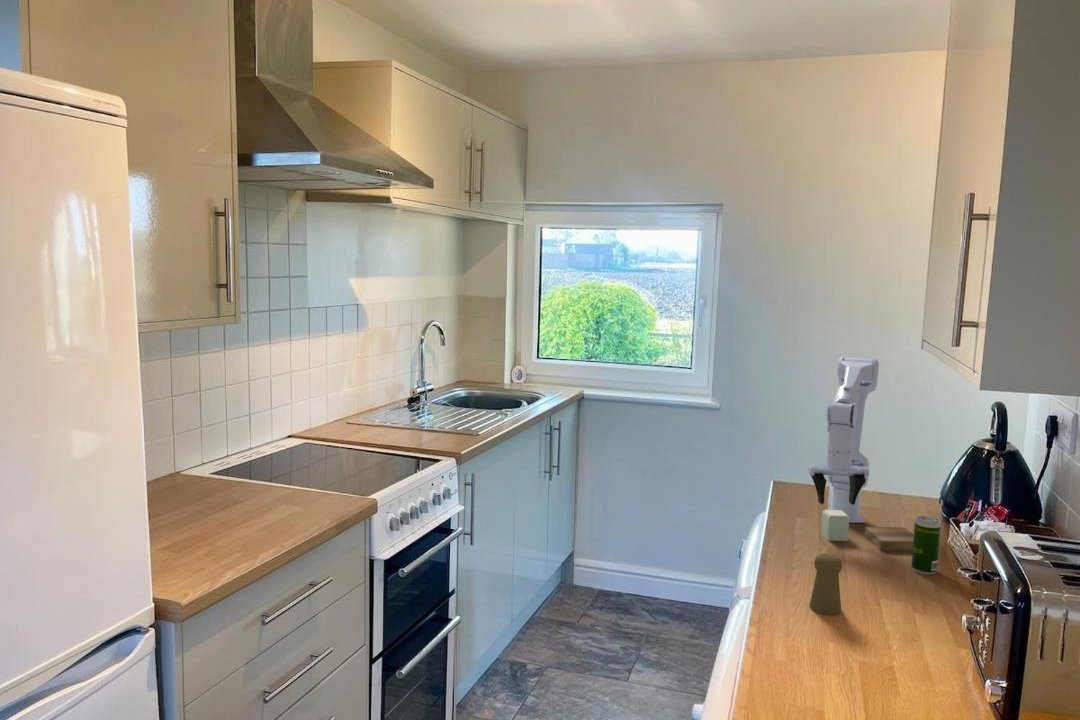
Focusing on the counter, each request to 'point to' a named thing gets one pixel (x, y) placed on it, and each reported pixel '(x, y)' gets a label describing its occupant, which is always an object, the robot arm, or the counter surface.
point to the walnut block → (890, 538)
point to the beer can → (926, 545)
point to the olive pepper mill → (826, 585)
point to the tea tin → (835, 525)
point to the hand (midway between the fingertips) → (836, 503)
